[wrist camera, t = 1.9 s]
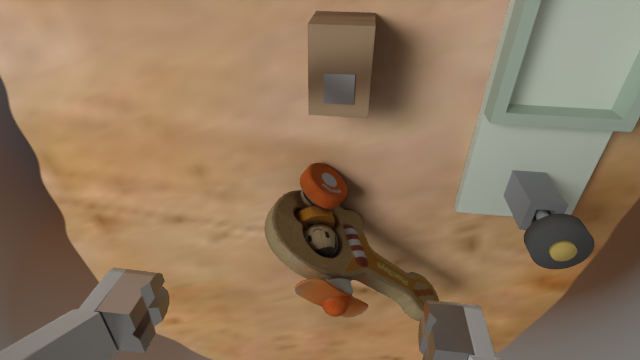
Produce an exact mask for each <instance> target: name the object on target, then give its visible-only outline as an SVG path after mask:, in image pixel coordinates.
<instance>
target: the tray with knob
mask: <svg viewBox="0 0 640 360" xmlns="http://www.w3.org/2000/svg"><path fill="white" fill-rule="evenodd" d="M639 117H640V0H510V2H509V5H508V9H507V13H506V16H505V20H504V24H503V27H502V31H501V35H500V39H499V42H498V46H497V50H496V53H495V57H494V61H493V64H492V68H491V72H490V75H489V79H488V83H487V86H486V90H485V94H484V97H483V101H482V105H481V108H480V112H479V116H478V120H477V123H476V127H475V131H474V134H473V138H472V142H471V145H470V149H469V153H468V156H467V160H466V164H465V167H464V171H463V175H462V178H461V182H460V186H459V190H458V193H457V197H456V201H455V204H454V205H455V209H456V212H463V213H475V214H487V215H499V216H511V217H514V219H515V221H516V223H517V225H518V227H519V229H522V230H527V229H528V227H529V226H530V225H531V224H532V223H533V222H535V221H536V220H537V218H536V217H535V212H536V210H547V212H548V214H549V215H552V214H568V215H572V213H573V211H574V209H575V207H576V205H577V203H578V201H579V199H580V197H581V195H582V193H583V191H584V189H585V187H586V185H587V183H588V181H589V179H590V177H591V175H592V173H593V171H594V169H595V167H596V165H597V163H598V161H599V159H600V157H601V155H602V153H603V151H604V149H605V147H606V145H607V143H608V141H609V139H610V137H611V135H612V133H613V131H621V132H632V131H633V129H634V127H635V125H636V123H637V121H638V119H639Z"/></svg>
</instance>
